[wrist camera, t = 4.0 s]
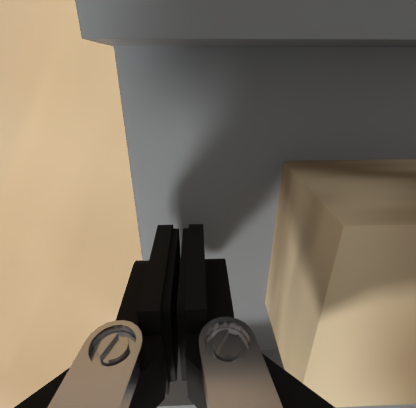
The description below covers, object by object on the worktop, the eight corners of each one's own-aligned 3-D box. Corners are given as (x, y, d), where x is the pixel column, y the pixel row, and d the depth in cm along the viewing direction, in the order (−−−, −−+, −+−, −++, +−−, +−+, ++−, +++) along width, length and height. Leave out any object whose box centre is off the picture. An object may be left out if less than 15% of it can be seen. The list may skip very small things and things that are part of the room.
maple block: (265, 302, 13) (295, 409, 9) (283, 160, 10) (343, 225, 6) (408, 298, 13) (501, 400, 9) (471, 158, 10) (655, 219, 6)
